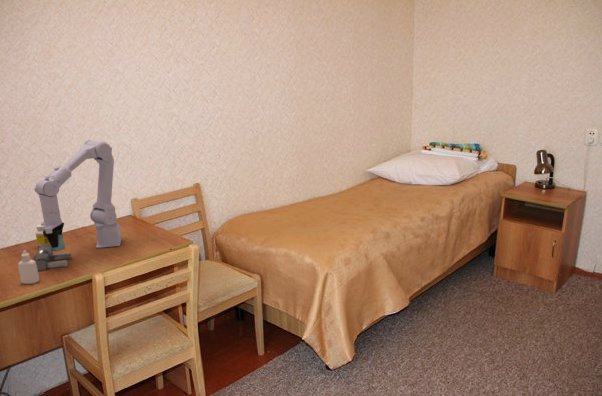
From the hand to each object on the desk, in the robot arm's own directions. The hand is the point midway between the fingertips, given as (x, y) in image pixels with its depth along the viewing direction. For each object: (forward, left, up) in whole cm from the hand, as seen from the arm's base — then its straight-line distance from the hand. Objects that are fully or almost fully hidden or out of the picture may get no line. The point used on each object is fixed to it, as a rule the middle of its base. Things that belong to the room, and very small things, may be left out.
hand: (56, 244), depth 179 cm
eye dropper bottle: (+6, +15, -8) cm, 18 cm away
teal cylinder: (0, 0, -2) cm, 2 cm away
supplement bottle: (+9, -19, -8) cm, 23 cm away
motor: (+2, 0, -7) cm, 8 cm away
